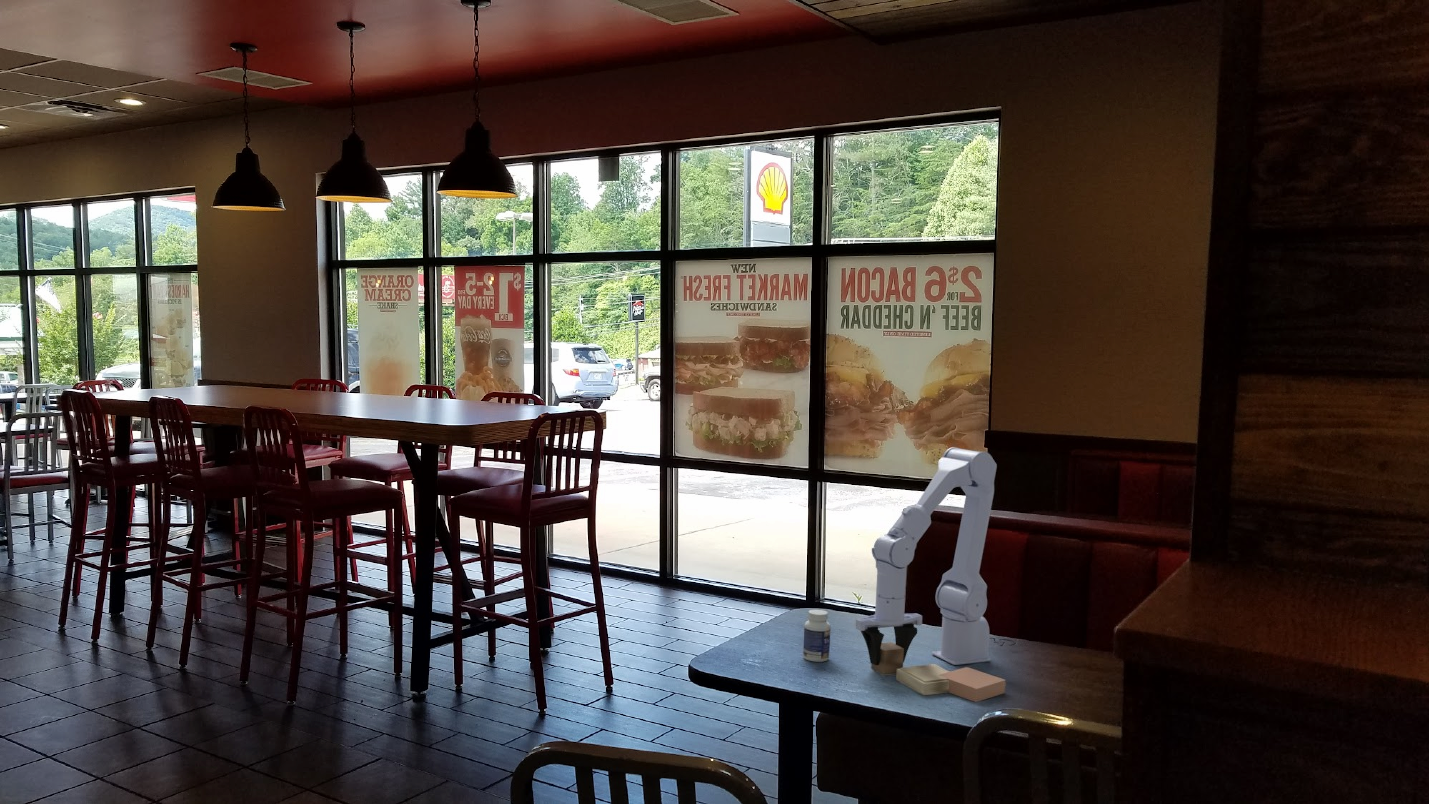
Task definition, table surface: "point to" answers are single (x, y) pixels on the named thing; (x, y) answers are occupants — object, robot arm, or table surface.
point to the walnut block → (889, 659)
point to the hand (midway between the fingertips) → (887, 662)
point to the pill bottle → (817, 636)
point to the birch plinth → (924, 679)
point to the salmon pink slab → (974, 684)
